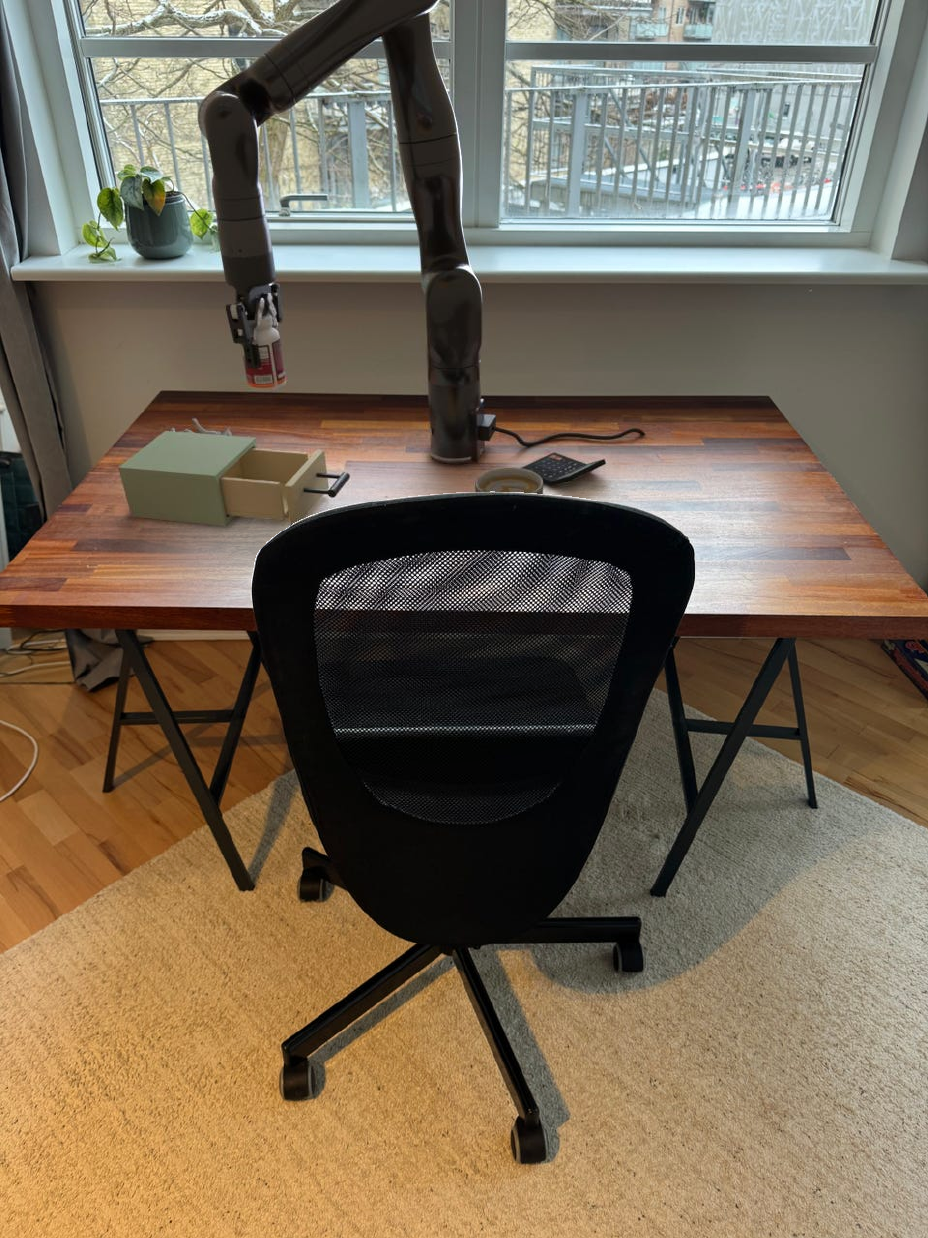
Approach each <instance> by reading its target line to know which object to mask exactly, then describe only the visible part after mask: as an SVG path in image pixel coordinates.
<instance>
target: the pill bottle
mask: <svg viewBox="0 0 928 1238" xmlns="http://www.w3.org/2000/svg"><path fill="white" fill-rule="evenodd" d="M247 321H248V323H253V322H254V321H252V320H247ZM272 325H273V322H272V316H271V315H270V314H268V313H267V315H265V316H264V317H262V321H261V329H259V330H258V338H257V344H258V348H259V354H260V361H261V367H259V368H258V369H252V368H248V367H247V366H246V361H245V355H244V349H243V345H242V344H240V349H241V354H242V361H243V365H244V371H245V376H246V381H247V386H248V388H249V389H250V390H253V391H255V392H263V393H265V392H266V393H267V392H273V391H277V390H279V389H282V388H284V386H286V384H287V374H286V369H285V362H284V357H283V356H284V355H283V349H282V342H281V337H280V332H279V331H278V330H276V329H275V328H273V327H272ZM249 331H250V335H251V329H249Z"/></svg>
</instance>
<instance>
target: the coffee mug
mask: <svg viewBox="0 0 928 1238" xmlns="http://www.w3.org/2000/svg"><path fill="white" fill-rule="evenodd" d="M490 491H495V492H524V493H537V494H543V495H544V483H543V480H542V478H541V477H540V476H539V475H538V474H536V473H535V472H532V471H530V470H526V469H522V467H498V468H493V469H489V470H486V471H484V472H482V473H480V474H479V475H478V476H477V477H476V478H475V481H474V493H475V492H490Z"/></svg>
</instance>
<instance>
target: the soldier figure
mask: <svg viewBox="0 0 928 1238" xmlns="http://www.w3.org/2000/svg"><path fill="white" fill-rule="evenodd" d="M191 421H193V423H194V424H195V427H196V428H197V429H198V432H199V433H200V434H213V435H226V436H233V432H232V429H231V427H229V426H228V428H227V429H226V430H223V431H222V432H221V431H219V430H218V431H216V430H213V429H212V430H206V429H204V427H202V425H201V424H200V423H199V421H198V419H197V418H196V417H193V418H192V419H191ZM170 431H174V432H176V429H175V428H174V427H171V428H170ZM179 432H187V433H194V431H192V430H190V429H187V428H185V429H183V430H180V431H179Z"/></svg>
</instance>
